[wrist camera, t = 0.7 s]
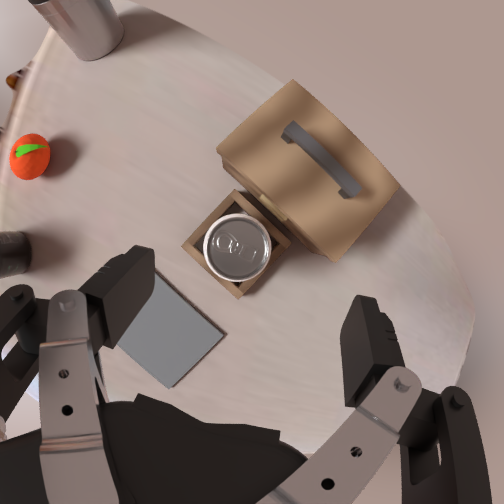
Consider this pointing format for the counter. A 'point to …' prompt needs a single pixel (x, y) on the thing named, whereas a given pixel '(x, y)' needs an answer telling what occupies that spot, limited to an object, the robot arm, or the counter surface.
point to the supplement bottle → (14, 253)
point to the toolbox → (300, 178)
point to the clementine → (30, 156)
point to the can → (237, 247)
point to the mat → (168, 335)
